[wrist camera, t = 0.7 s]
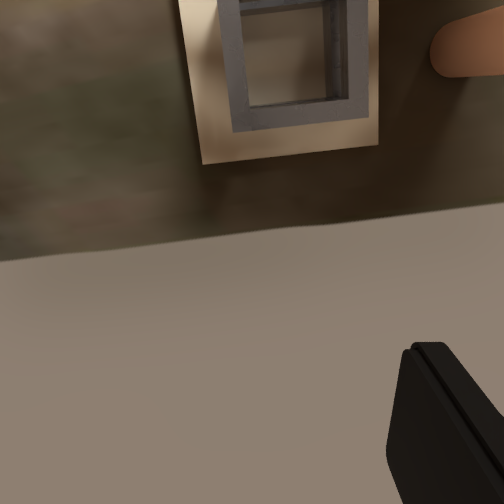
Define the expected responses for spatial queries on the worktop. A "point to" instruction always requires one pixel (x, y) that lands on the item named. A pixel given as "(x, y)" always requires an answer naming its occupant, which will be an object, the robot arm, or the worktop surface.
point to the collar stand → (282, 75)
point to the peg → (470, 46)
